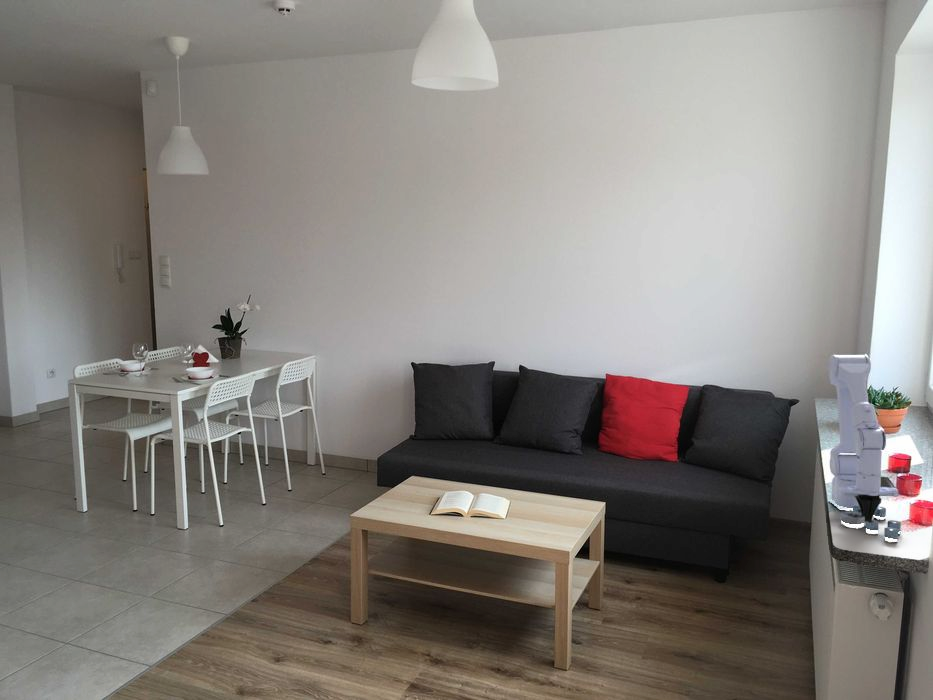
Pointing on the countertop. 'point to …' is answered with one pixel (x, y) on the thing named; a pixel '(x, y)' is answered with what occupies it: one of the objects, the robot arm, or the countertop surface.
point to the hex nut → (852, 517)
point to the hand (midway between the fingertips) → (866, 522)
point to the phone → (886, 482)
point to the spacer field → (891, 528)
